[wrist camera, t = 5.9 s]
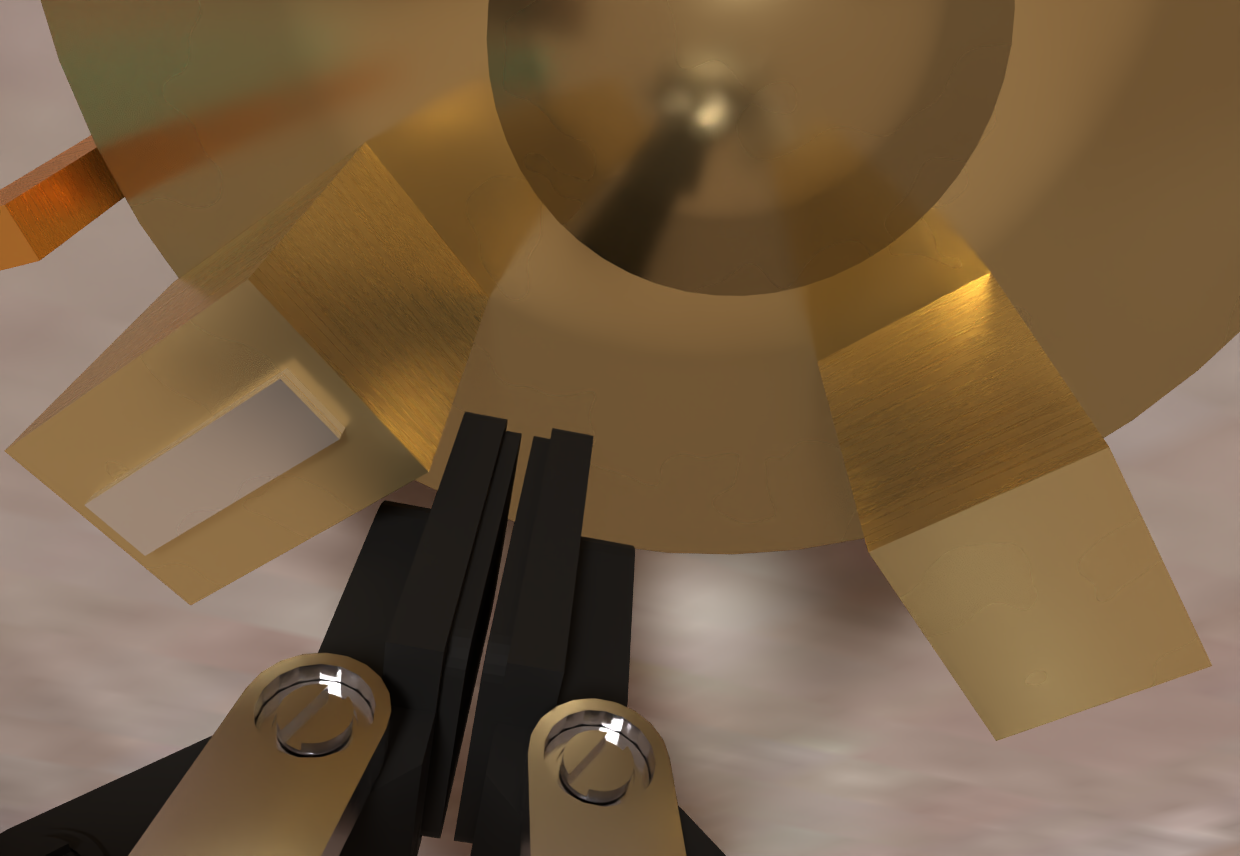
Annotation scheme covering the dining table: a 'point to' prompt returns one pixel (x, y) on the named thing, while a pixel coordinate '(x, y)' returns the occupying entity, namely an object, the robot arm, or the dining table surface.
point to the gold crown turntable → (677, 287)
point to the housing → (54, 203)
